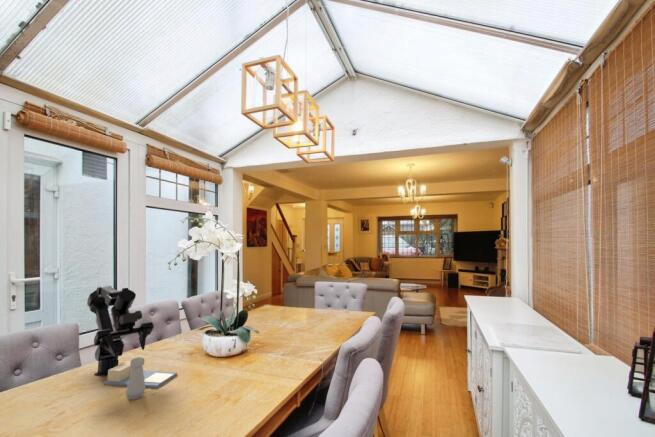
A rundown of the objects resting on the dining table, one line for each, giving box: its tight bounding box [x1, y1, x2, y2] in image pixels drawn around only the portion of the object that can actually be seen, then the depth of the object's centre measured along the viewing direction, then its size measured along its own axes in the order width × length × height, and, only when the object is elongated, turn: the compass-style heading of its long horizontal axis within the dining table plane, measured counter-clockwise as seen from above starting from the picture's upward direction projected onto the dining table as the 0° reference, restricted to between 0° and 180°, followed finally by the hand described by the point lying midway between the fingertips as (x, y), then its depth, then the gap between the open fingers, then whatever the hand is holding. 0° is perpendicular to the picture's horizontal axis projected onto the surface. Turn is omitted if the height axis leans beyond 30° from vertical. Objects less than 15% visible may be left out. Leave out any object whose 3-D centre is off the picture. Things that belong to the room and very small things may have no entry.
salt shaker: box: [125, 356, 146, 401], centre depth 108 cm, size 6×6×13 cm
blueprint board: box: [103, 359, 178, 389], centre depth 122 cm, size 22×12×5 cm, turn 82°
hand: (129, 352), depth 114 cm, fingers open, 9 cm apart
